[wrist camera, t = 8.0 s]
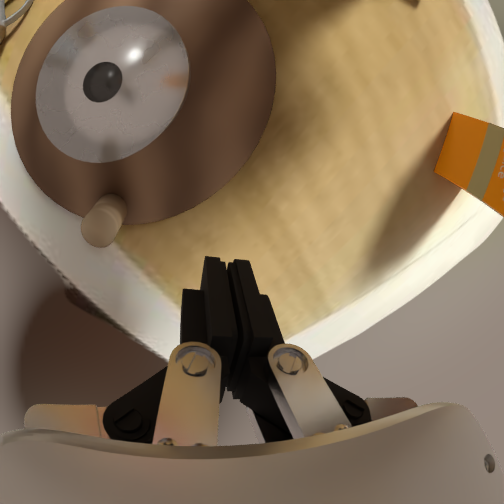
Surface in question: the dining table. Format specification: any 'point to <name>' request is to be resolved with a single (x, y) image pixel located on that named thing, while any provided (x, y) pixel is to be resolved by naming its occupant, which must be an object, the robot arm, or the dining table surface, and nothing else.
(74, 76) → the steel cover
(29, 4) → the ceramic mug
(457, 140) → the orange juice
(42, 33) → the lazy susan
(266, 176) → the dining table surface
